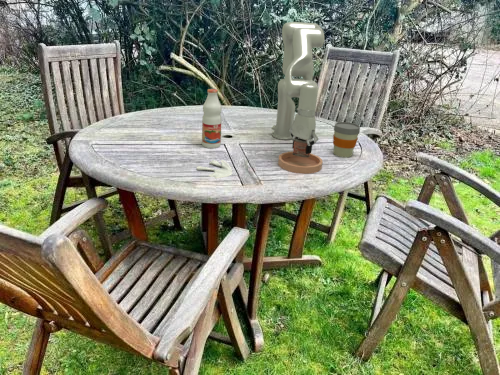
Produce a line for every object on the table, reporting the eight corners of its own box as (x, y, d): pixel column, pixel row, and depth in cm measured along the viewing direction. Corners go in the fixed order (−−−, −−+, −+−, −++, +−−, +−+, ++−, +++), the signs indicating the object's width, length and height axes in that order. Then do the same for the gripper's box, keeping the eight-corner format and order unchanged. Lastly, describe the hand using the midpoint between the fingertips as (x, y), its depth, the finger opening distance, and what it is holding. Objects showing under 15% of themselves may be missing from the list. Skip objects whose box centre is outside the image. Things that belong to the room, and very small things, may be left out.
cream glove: (219, 183, 166) (219, 177, 165) (179, 169, 176) (179, 164, 175) (247, 168, 182) (247, 163, 181) (208, 156, 192) (209, 152, 191)
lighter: (310, 155, 186) (313, 134, 182) (308, 158, 183) (311, 137, 179) (293, 152, 189) (295, 132, 184) (291, 155, 186) (293, 134, 181)
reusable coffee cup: (357, 153, 208) (362, 124, 202) (352, 160, 198) (357, 130, 192) (333, 148, 213) (337, 120, 206) (327, 155, 202) (331, 126, 196)
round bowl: (269, 162, 188) (269, 156, 187) (298, 154, 201) (299, 148, 200) (301, 177, 175) (302, 170, 174) (330, 167, 188) (331, 161, 186)
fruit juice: (217, 141, 210) (218, 87, 198) (223, 147, 203) (225, 91, 191) (199, 143, 207) (200, 87, 195) (205, 149, 199) (206, 92, 187)
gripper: (286, 109, 181) (282, 146, 188) (316, 118, 170) (310, 158, 177) (297, 107, 186) (293, 143, 193) (327, 116, 174) (321, 154, 182)
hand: (301, 150), depth 185 cm, fingers closed on lighter, 7 cm apart
